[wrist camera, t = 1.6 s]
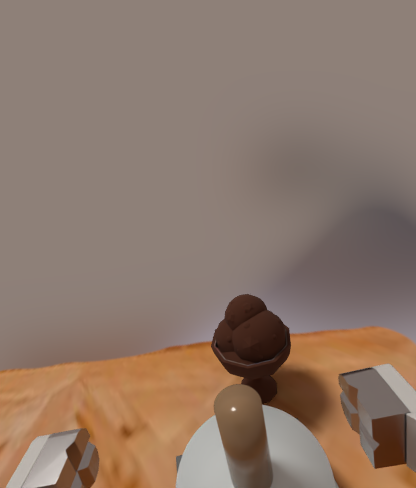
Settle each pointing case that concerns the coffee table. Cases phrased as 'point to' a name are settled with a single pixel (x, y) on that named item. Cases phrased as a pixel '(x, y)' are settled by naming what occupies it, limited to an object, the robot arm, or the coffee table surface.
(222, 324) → the ice cream bowl
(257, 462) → the hexagonal peg stand
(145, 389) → the coffee table surface
